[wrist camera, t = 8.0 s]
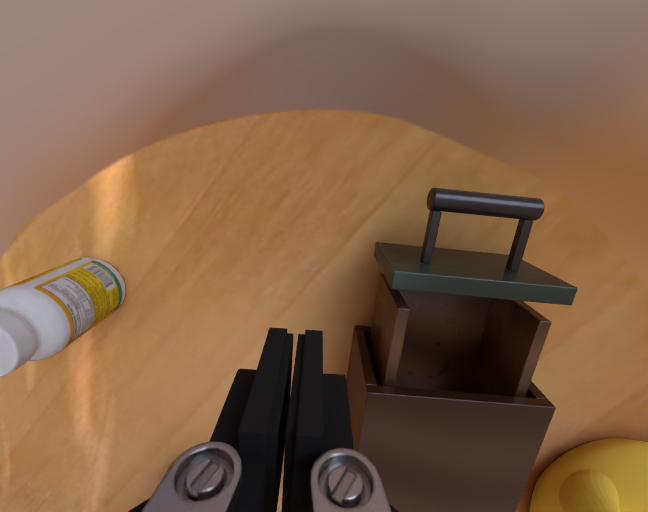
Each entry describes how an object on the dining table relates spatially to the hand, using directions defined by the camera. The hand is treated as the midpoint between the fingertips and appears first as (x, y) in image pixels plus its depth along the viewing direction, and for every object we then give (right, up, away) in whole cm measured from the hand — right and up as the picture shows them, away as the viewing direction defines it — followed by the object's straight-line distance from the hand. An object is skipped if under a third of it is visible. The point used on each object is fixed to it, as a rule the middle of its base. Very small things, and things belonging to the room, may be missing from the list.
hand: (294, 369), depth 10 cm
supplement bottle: (-19, +1, +18) cm, 26 cm away
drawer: (+10, 0, +17) cm, 20 cm away
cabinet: (+9, -10, +21) cm, 25 cm away
